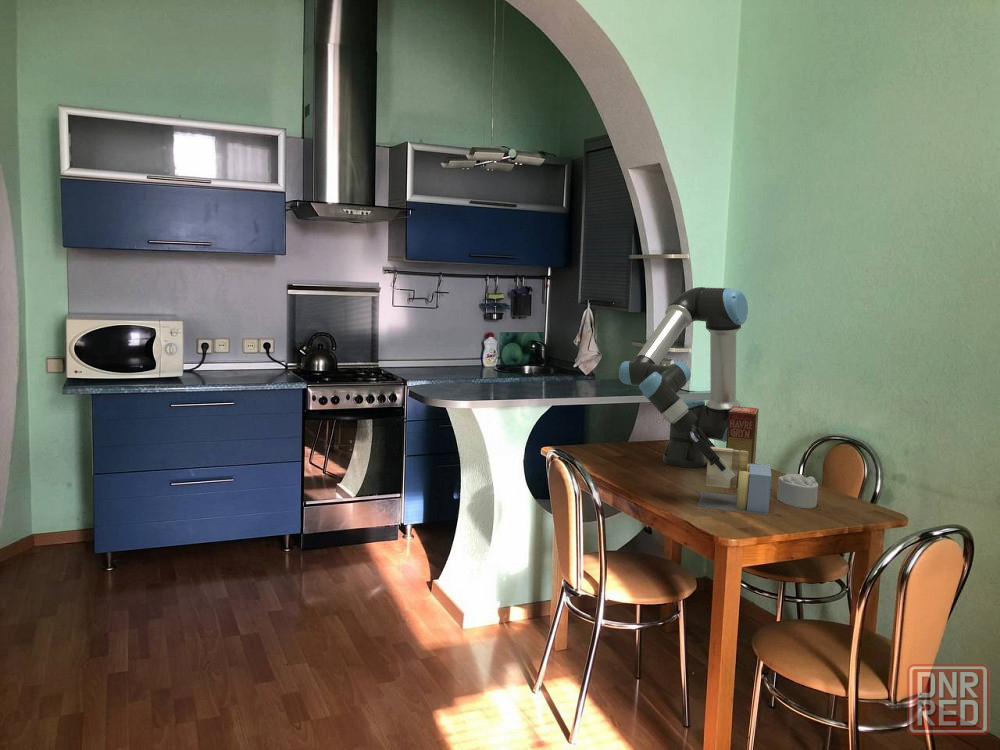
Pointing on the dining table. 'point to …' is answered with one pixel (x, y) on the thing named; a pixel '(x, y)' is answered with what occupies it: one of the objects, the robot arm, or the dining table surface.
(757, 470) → the fixed leaf
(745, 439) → the food packaging
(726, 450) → the beige block
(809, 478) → the lumpy-topped squat cylinder
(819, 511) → the dining table surface
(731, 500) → the mat
